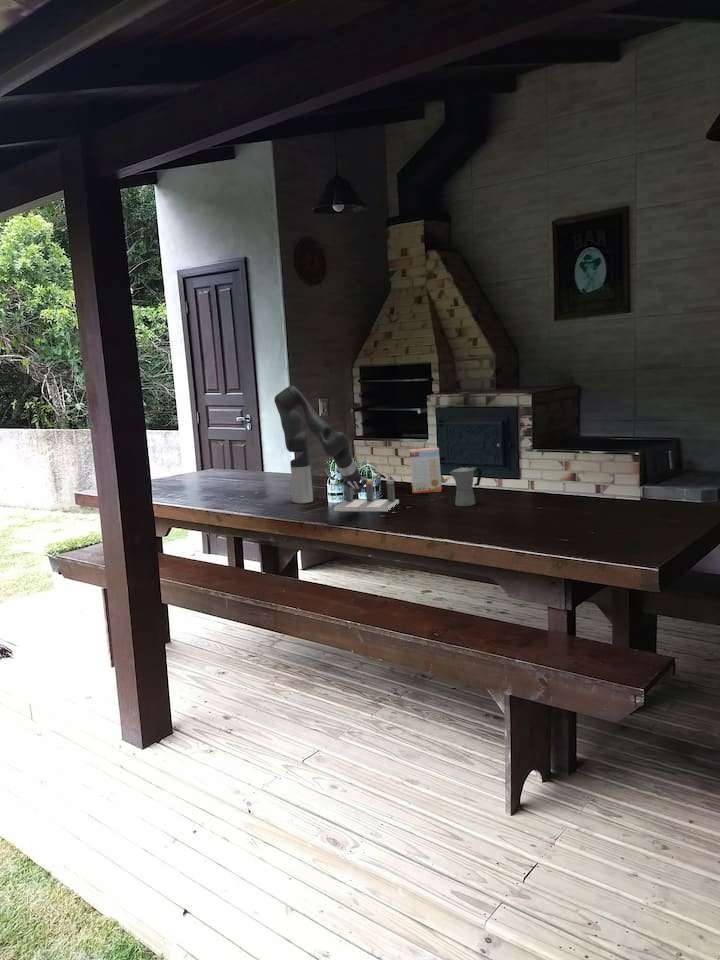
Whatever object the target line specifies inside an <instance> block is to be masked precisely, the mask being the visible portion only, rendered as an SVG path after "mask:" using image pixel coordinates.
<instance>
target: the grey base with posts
mask: <svg viewBox="0 0 720 960" xmlns="http://www.w3.org/2000/svg"><path fill="white" fill-rule="evenodd" d="M347 484H349V483H348V482H347ZM344 490H345V491H344V493H345V501H343V502H341V503H339V504H338V505H336V506H333V512H389V511H390V510H392V509H393V508H395V507H396V506H397V505H398V504H400V499H396V496H395V495H396V493H395V492H396V491H395V480H394V479H388V480H386V491H387V499H380V498H379V499H375V498H374V500H373V501H367V499H354V492H353V487H351V488H349V487H347V486H345V485H344ZM396 504H397V505H396ZM395 505H396V506H395ZM392 507H393V508H392ZM391 508H392V509H391ZM388 510H389V511H388Z"/></svg>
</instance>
